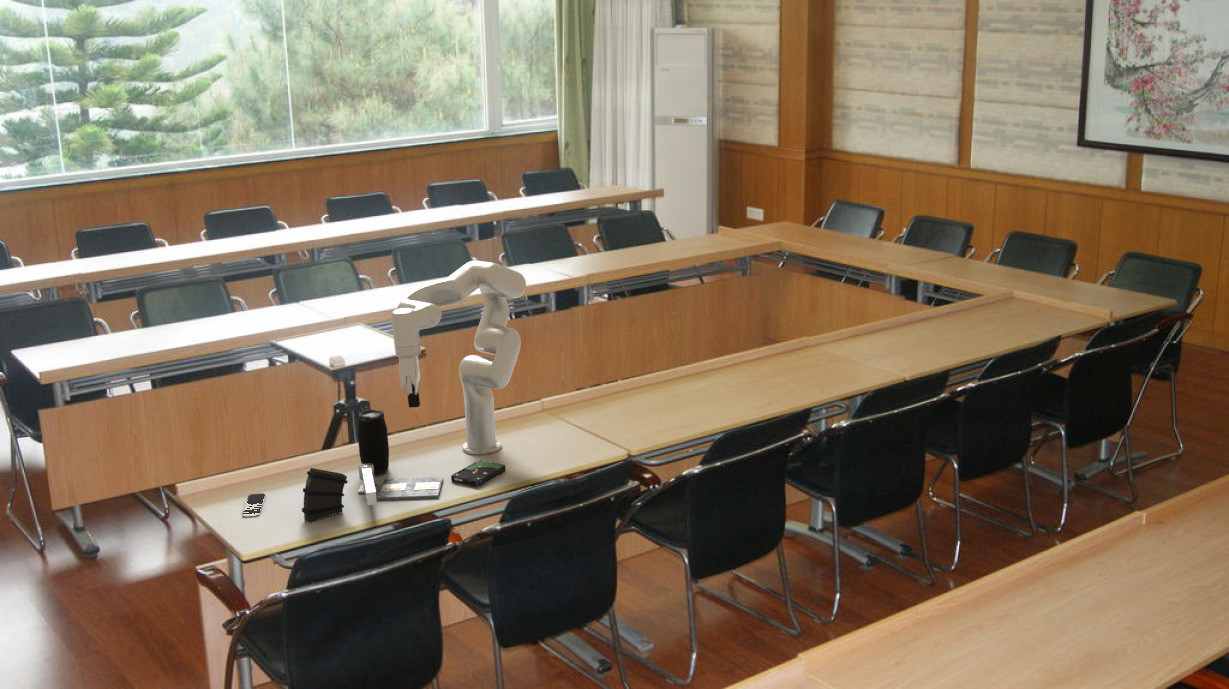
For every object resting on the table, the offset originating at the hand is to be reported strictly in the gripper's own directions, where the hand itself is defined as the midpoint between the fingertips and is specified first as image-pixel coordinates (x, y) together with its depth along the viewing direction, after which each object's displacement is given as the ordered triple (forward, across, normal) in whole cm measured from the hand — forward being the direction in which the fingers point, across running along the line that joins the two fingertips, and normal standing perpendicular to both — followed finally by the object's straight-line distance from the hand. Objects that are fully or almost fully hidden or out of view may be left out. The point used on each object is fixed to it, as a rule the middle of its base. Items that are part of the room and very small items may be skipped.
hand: (414, 406), depth 364 cm
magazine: (+22, +26, -24) cm, 42 cm away
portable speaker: (+24, -6, -15) cm, 29 cm away
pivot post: (+23, +9, -15) cm, 29 cm away
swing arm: (+18, +18, -13) cm, 29 cm away
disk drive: (+25, +1, +17) cm, 30 cm away
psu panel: (+23, +10, -2) cm, 25 cm away
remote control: (+22, +18, -48) cm, 55 cm away
